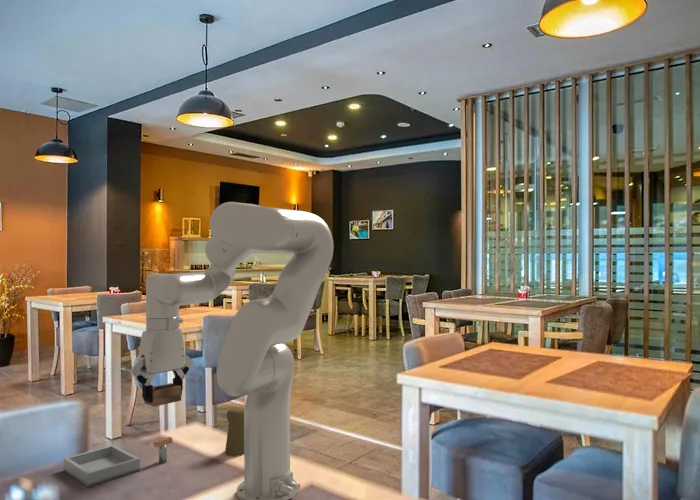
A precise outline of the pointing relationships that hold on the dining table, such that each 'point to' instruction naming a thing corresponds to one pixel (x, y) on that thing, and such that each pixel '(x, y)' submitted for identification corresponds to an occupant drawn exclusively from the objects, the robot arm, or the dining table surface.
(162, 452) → the brown grey t-shaped piece
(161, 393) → the collar
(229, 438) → the cork
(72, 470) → the tray
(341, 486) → the dining table surface
